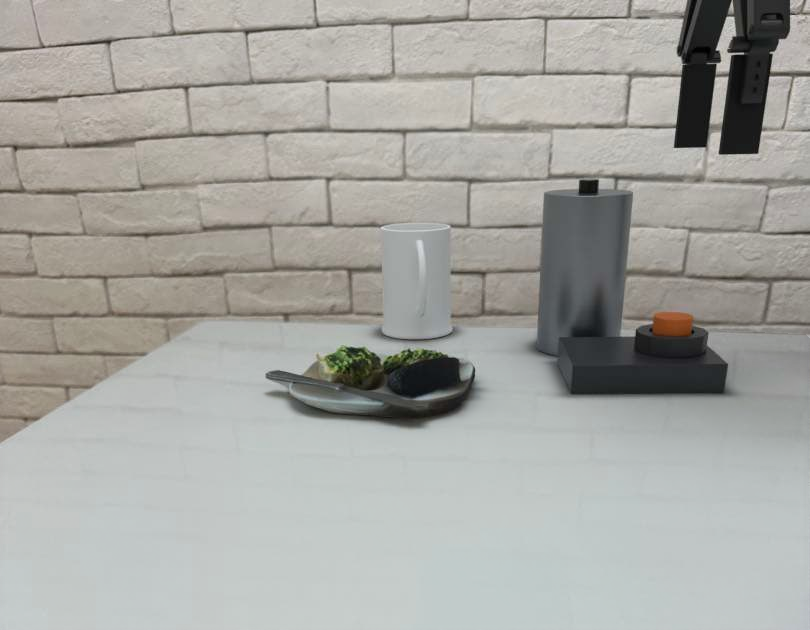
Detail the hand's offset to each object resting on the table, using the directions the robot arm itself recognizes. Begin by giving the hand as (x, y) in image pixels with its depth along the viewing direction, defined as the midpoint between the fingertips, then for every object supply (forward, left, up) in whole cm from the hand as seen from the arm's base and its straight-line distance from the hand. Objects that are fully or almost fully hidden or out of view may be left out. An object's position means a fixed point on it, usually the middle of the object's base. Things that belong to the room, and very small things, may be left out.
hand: (711, 151), depth 70 cm
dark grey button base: (+3, -5, -20) cm, 21 cm away
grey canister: (+7, -17, -20) cm, 28 cm away
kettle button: (0, -5, -16) cm, 17 cm away
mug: (+25, -24, -20) cm, 41 cm away
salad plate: (+27, 0, -20) cm, 34 cm away
